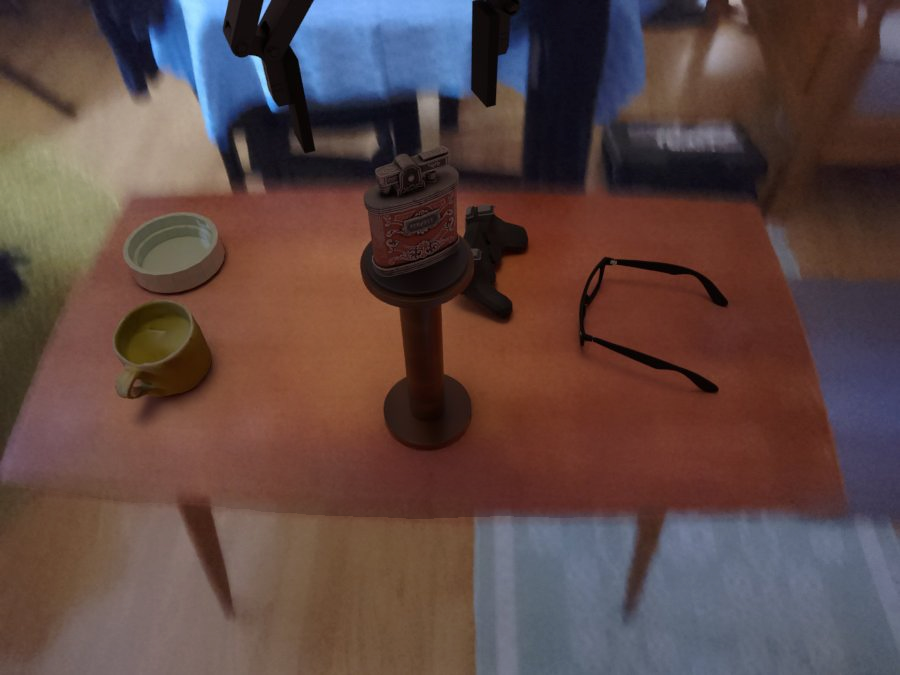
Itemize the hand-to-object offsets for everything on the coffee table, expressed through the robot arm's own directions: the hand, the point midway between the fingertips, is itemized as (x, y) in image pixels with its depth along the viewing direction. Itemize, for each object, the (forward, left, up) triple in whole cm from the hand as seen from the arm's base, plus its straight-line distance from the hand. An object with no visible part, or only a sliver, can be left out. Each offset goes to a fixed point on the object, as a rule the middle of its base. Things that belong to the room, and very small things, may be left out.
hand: (397, 119), depth 49 cm
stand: (+1, 0, -38) cm, 38 cm away
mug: (-26, +17, -38) cm, 49 cm away
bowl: (-21, +37, -38) cm, 57 cm away
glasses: (+31, 0, -38) cm, 49 cm away
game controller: (+17, +17, -38) cm, 45 cm away
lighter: (+1, 0, -14) cm, 14 cm away
